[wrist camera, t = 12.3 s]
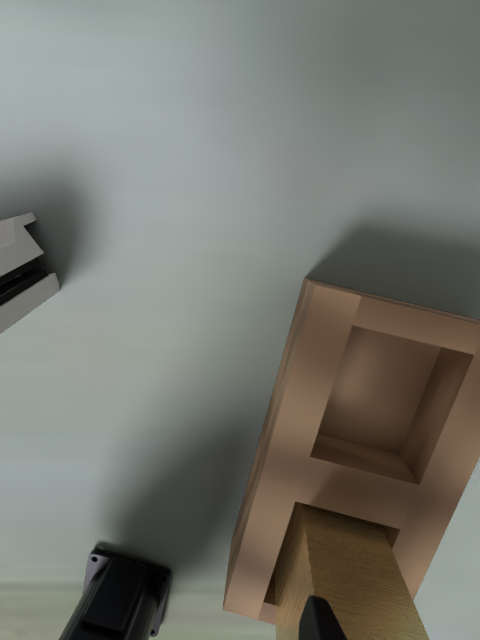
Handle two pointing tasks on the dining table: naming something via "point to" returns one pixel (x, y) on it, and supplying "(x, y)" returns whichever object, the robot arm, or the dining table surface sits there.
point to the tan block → (342, 577)
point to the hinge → (13, 259)
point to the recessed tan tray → (361, 433)
